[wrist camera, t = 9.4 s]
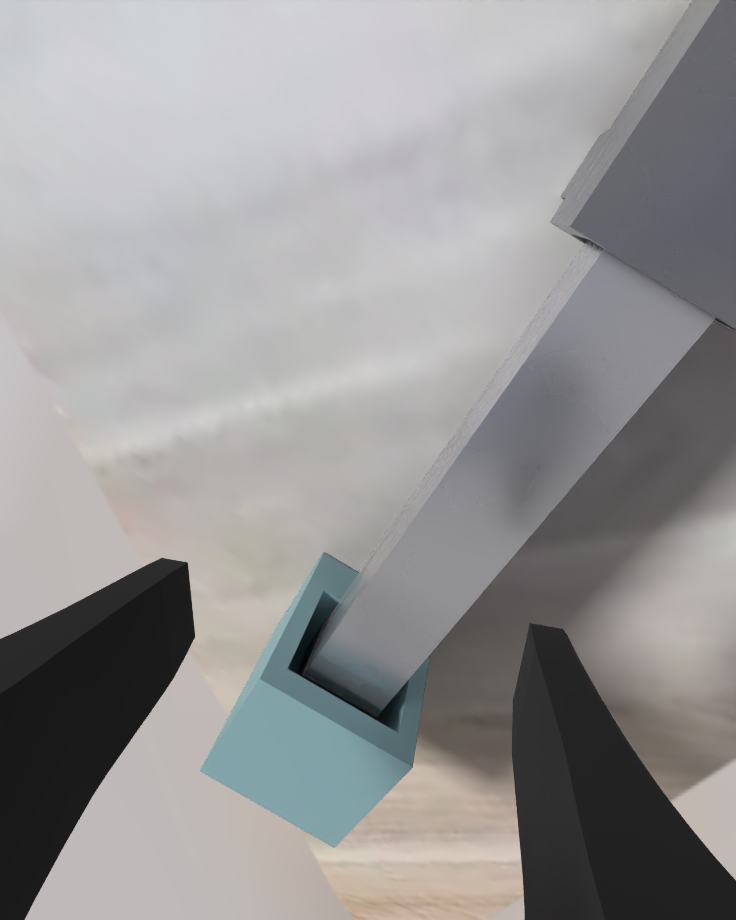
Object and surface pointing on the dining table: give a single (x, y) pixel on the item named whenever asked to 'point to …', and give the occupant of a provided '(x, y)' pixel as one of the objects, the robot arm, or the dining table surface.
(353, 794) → the socket
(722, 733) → the dining table surface
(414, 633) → the extension bar
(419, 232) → the dining table surface
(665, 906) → the robot arm
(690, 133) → the sleeve
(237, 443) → the dining table surface
